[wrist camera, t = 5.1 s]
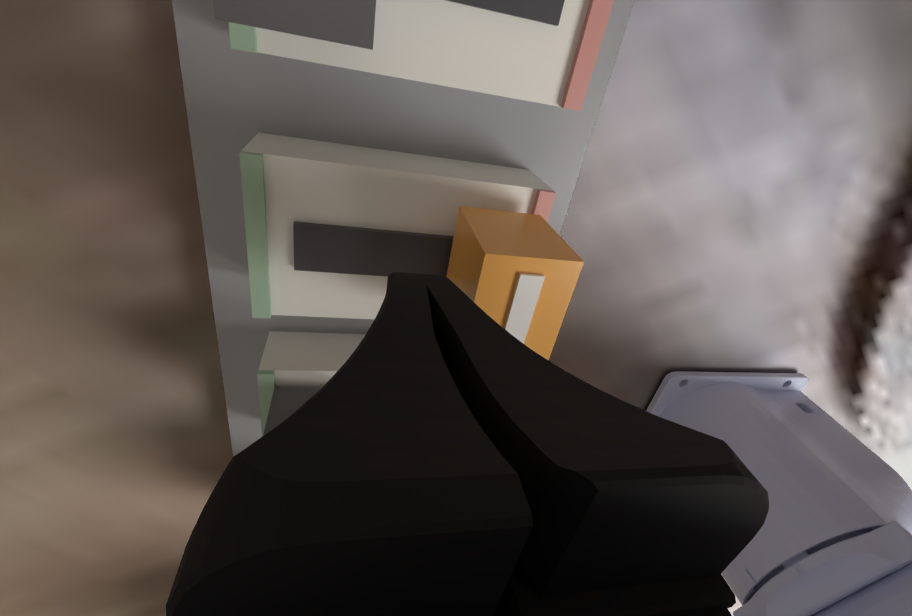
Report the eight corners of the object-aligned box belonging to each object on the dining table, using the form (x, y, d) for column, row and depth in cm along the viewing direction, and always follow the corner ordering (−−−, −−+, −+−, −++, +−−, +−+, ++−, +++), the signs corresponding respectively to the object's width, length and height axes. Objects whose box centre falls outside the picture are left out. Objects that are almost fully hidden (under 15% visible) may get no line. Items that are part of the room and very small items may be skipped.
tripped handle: (539, 215, 12) (585, 263, 10) (510, 318, 14) (542, 382, 12) (459, 205, 12) (486, 255, 9) (439, 315, 14) (457, 381, 11)
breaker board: (640, -86, 12) (860, -171, 7) (468, 489, 26) (497, 614, 20) (159, -237, 9) (-118, -594, 4) (247, 501, 23) (211, 652, 17)
